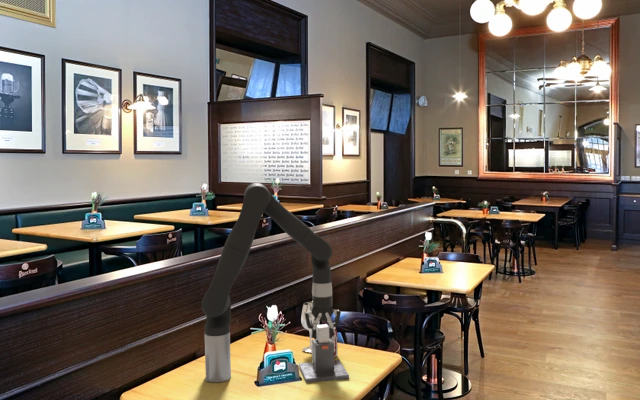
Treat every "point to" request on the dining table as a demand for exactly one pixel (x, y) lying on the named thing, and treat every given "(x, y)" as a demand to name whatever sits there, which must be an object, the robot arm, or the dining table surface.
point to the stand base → (323, 364)
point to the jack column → (322, 334)
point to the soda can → (334, 341)
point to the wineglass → (306, 308)
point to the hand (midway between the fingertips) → (322, 337)
